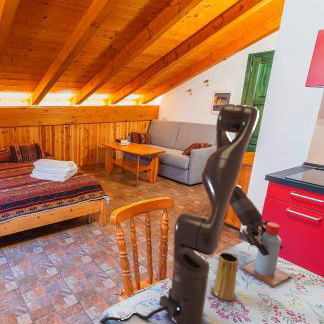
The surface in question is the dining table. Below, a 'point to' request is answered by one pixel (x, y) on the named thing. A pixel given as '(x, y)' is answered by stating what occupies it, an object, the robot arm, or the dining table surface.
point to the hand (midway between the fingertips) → (273, 252)
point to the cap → (272, 228)
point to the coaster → (272, 280)
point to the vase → (226, 276)
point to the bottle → (268, 262)
